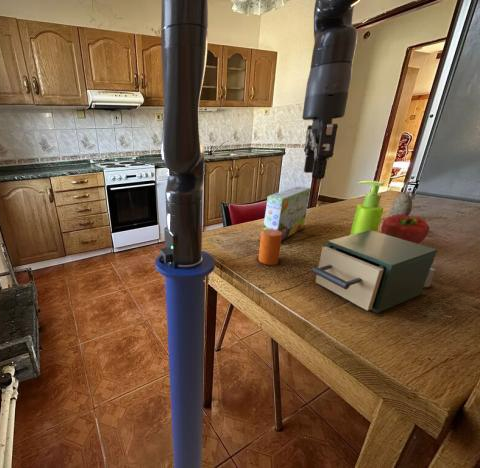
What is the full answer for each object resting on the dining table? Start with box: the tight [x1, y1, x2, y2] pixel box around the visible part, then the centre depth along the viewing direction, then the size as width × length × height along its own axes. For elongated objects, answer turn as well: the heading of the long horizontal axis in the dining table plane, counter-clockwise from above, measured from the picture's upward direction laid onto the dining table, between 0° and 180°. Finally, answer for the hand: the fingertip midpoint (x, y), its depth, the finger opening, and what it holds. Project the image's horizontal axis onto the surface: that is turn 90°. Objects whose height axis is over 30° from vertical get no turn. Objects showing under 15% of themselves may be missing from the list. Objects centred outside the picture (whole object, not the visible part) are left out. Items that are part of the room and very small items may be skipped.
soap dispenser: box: [349, 180, 385, 235], centre depth 72 cm, size 6×7×20 cm
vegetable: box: [380, 214, 430, 245], centre depth 75 cm, size 11×10×10 cm
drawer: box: [311, 246, 386, 312], centre depth 54 cm, size 18×11×9 cm, turn 113°
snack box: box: [262, 185, 312, 242], centre depth 87 cm, size 21×6×15 cm, turn 132°
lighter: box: [423, 267, 436, 288], centre depth 59 cm, size 7×2×8 cm, turn 179°
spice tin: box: [258, 229, 282, 266], centre depth 70 cm, size 5×5×8 cm
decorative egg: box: [389, 192, 413, 217], centre depth 98 cm, size 6×6×10 cm
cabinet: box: [326, 230, 438, 314], centre depth 56 cm, size 15×13×11 cm
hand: (313, 175), depth 57 cm, fingers open, 8 cm apart
